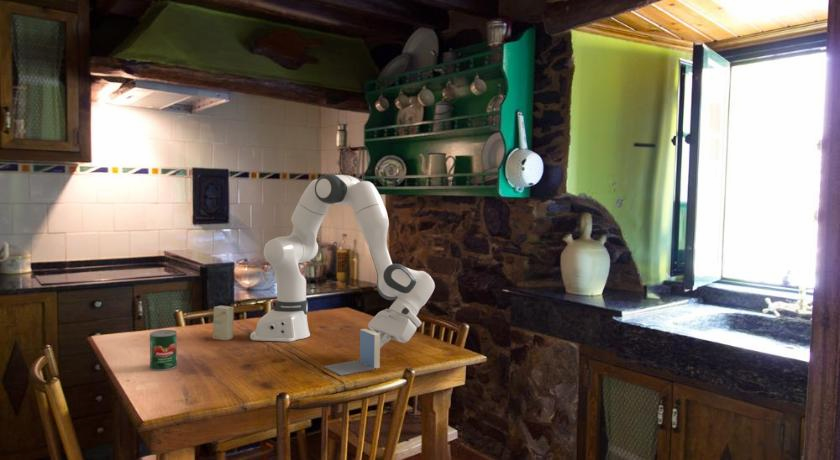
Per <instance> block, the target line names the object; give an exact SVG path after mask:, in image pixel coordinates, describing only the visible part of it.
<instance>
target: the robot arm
mask: <svg viewBox="0 0 840 460" xmlns="http://www.w3.org/2000/svg"><path fill="white" fill-rule="evenodd" d="M331 205H335V206H348V205H350V207H351V208H352V211H353V214H354V217H355V220H356V222H357V225H358V227H359V229H360V231H361V233H362V235H363V237H364V239H365V241H366V244H367V247H368V250H369V252H370V256H371V258H372V259H371V260H372V261H373V265H374V268H375V272H376V276H377V277H376V278H377V279H376V289H377V292H378V294H379V295H380V297H382V298H383V299H385V300H386V301H387V300H388V301H393V303H392V304H391V305H390V307H389V308H385V309H383V310H381V311H379V312H377V314H376V315H374V317H373V318H372V319H371V320H370V321H369V322H368V325H367V326H368V329H369V330H371V331H373V332H376V333H379V334H380V349H381V348H382V347H383V346H384V345H385V344H387V343H389V342H390V341H391V339H392V340H395V341H396V342H400V343H403V344H406V343H407V342H409V341H410V339H411V338H412V337H413V336H414V334H415V333H416V332H417V328H420V327H421V325H422V321H421V320H420V318H419V317H418V314H419V312H420V310H421V309H422V307H423V306H425V304H427V302H428V300H429V299H430V298H431V297H432V294H433V292H434V290H435V288H436V285H435V280H434V279H433V277H432V276H431V275H430V274H429V273H428V272H426V271H424V270H415V269H411V268H409V267H406V266H405V265H403V264H401V263H393V262H392V259H391V255H390V253H389V252H390V251H389V249H388V244H387V242H388V240H387V238H388V232H389V226H390V223H389V222H390V220H389V217H388V212H387V209H386V206H385V203H384V201H383V198H382V197H381V195H380V193H379V191H378V189H377V188H376V186H375V185H374V183H372V182H371V181H370V180H369V181H368V180H363V179H361V178H359V177H357V176H353V175H352V176H351V175H348V174H347V175H346V174H333V173H328V174H327V173H326V174H324V175H321V176H319V178H316V179H313V180H311V181H310V183H309V184H308V186H307V187H306V188H305V190H304V191H303V193H302V195H301V196H300V198H299V200H298V202H297V205H296V207H295V209H294V211H293V213H292V215H291V223H292V225H293V226H292V227H293V228H292V232H291V234H290V235H284V236H283V235H282V236H277V237H275V238H273V239H270V240H268V241H267V242H266V243H265V245H264V248H263V256H264V259H265V261H266V262H267V263H268V264H269V265H270V266H271V267H272V271H273V272H274V275H275V280H276V298H274V299H272V300H271V310H270V311H268V312H267V313H265V314H264V315H263V316H262V317H261V318H260V319H258V321H257V324H256V329H255V330H253V331H252V332H251V333H250V335H249V338H250V340H252V341H263V342H266V341H268V342H290V343H291V342H294V341H296V340H303V339H305V338H308V337H310V336H311V333H310V330H309V329H310V328H309V325H308V315H307V314H308V309H309V307H308V305H309V304H308V303H309V302H308V299H307V279H306V278H305V277H304V275H302V273H301V271H300V267H299V264H302V263H306V262H309V261H310V260H312V259H314V258H315V257H316V256H317V255H318V252H319V244H318V242H317V236H318V233H319V229H320V227H321V225H322V224H323V221H324V219H325V216H326V215H327V212H328V210H329V208H330V207H331ZM416 315H417V316H416ZM415 331H416V332H415Z"/></svg>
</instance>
